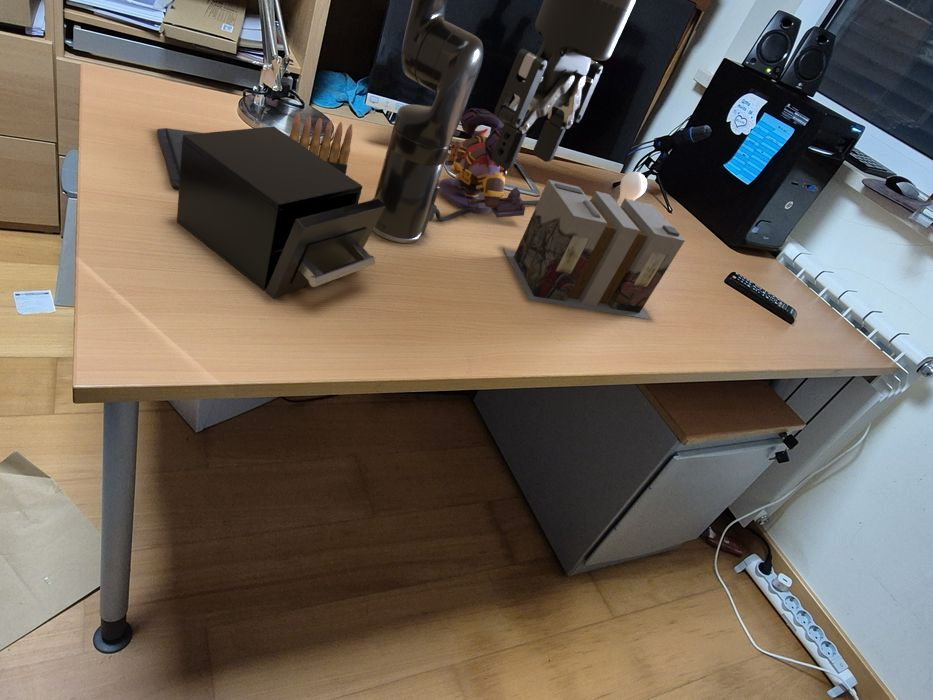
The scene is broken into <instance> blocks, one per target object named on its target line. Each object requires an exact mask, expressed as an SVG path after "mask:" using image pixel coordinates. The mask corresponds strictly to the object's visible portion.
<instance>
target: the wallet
mask: <svg viewBox="0 0 933 700" xmlns="http://www.w3.org/2000/svg"><path fill="white" fill-rule="evenodd" d="M198 133H200V132H198V131H191V130H184V129H177V128H169V127H168V128H167V127H162V128H157V129H156V134H157V139H158V141H159V145H160V148H161V151H162V154H163V158H164V160H165V164H166V169H167V171H168V176H169V180H170V184H171V185H172V187H173V189H176V190H178V191H179V182H180V167H181V152H182V141H183V140H182V139H183V135H188V134H198Z"/></svg>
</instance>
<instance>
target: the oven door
mask: <svg viewBox="0 0 933 700" xmlns="http://www.w3.org/2000/svg"><path fill="white" fill-rule="evenodd" d="M384 208H385V205H384V204H383V203H382V202H381V201H380V200H379V199H374V200H372V199H371V200H367V201H362V202H358V204H354V205H350V206H346V207H342V208H338V209H334V210H330V211H326V212H322V213H318V214H314V215H310V216H306V217H302V218H298V219H296V220H295V222H294V225H293V227H292V230H291V232H290V234H289V237H288V239H287V241H286V244H285V246H284V249H283V251H282V253H281V256H280V258H279V260H278V263H277V265H276V268H275V270H274V272H273V275H272V277H271V279H270V282H269V284H268V287H267V289H266V290H265V292H266V293H267V294H268V295H269V296H270V298H271V299H274V300H275V299H277V298H280V297H283V296H284V295H287V294H290V293H293V292H296V291H298V290H301V289H304V288H306V287H309V286H310V287H311V288H316V287H319V286H322V285H325V284H327V283H329V282H332V281H335V280H337V279H340V278H344V277H345V276H348V275H351V274H354V273H356V272H359V271H361V270H364V269H366V268H371V267H373V266H374V265H375V264H376V258H375V257H374V256H373V255H371V254H369V252H368V251H367V250H366V249H364V248H365V246H366V244H367V242H368V240H369V238H370V236H371V234H372V232H373V229H374V227H375V225H376V223H377V221H378V220H379V218H380V216H381V214H382V212H383V210H384Z"/></svg>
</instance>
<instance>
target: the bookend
mask: <svg viewBox="0 0 933 700" xmlns="http://www.w3.org/2000/svg"><path fill="white" fill-rule="evenodd" d="M538 200H539V201H538V204H536V206H535V208H534V211H533V213H532V215H531V217H530V220H529V222H528V224H527V226H526V228H525V230H524V233H523V235H522V237H521V240H520V242H519V244H518V245H517V248H516V249H515V251H514V250H510V249H503V251H504V253H505V255H506V257H507V259H508V261H509V263H510V265H511V267H512V269H513V271H514V273H515V275H516V277H517V279H518V281H519V282H520V283H519V284H520V285H521V288H522V289H523V291H524V293H525V294H526V297H527V299H528V300H529V301H534V302H539V303H546V304H551V305H558V306H559V305H560V306H565V307H571V308H577V309H585V310H591V311H597V312H601V313H602V312H603V313H610V314H616V315H621V316H628V317H634V318H641V319H647V320H650V319H649V316H648V315H647V314H646V312H645V311H644V307H645V305H646V303H647V302H648V300H649V299H650V297H651V296H652V294H653V293H654V291H655V289H656V288H657V286H658V285H659V283H660V281H661V280H662V278H663V277H664V276H665V273H666V272H667V270H668V268H669V267H670V266H671V264H672V263H673V260H674V259H675V257H676V256H677V254H678V253H679V251H680V249H681V248H682V246H683V245H684V243H685V241H686V240H685V239H684V238H683V236H681V234H680V232H679V231H678V230H677V229H676V228H675V227H674V226H672V224H671V223H670V222H669V221H668V220H667V219H666V218H665V216H663V215H662V214H661V212H660V211H659V210H658V209H657V208H656V207H655V206H654V204H650V203H647V202H646V203H645V202H642V201H638V200H630V199H626V198H625V199H624V201H623V202H622V204H621V206H619V205H618V204H617V203H618V201H616V200H615V199H614V197H612V195H611V194H609V193H606V192H601V191H597V190H595V191H594V192H593V194H592V196H591V198H589V197H588V196H587V194H585V192H584V191H583V190H582V188H581V187H580V186H577V185H574V184H573V185H572V184H569V183H564V182H560V181H557V180H552V179H547V181H546V184H545V186H544V188H543V191H542V192H541V195H540V197H539V199H538Z"/></svg>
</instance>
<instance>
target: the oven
mask: <svg viewBox="0 0 933 700" xmlns="http://www.w3.org/2000/svg"><path fill="white" fill-rule="evenodd" d="M289 136H290V135H288V134H286V133H285V132H283V131H282V130H280V129H279V128H277V127H276V126H264V127H253V128H242V129H231V130H222V131H210V132H199V133H198V134H188V135H183V139H182V140H183V141H182V152H181V167H180V182H179V190H178V196H177V197H178V198H177V210H176V211H177V213H176V223H177V224H178V225H179V226H181V227H182V228H183V229H185V230H186V231H187V232H188V233H190V234H191V235H192V236H193V237H195V238H196V239H197V240H198V241H200V242H201V243H202V244H204V245H205V246H206V247H207V248H209V250H211V251H212V252H214V253H215V254H216V255H217V256H218V257H220V258H221V259H222V260H223V261H225V262H226V263H227V264H229V265H230V266H231V267H233V269H235V270H236V271H238V272H239V273H240V274H241V275H243V276H244V277H245V278H246V279H248V280H249V281H250V282H251V283H253V284H254V285H255V286H256V287H258V288H259V289H261V290H262V291H263V292H266V289H267V287H268V284H269V282H270V279H271V277H272V275H273V272H274V270H275V268H276V265H277V263H278V260H279V258H280V256H281V253H282V251H283V249H284V246H285V244H286V241H287V239H288V237H289V234H290V232H291V230H292V227H293V225H294V222H295V220H296V219H298V218H302V217H306V216H310V215H314V214H318V213H322V212H326V211H330V210H334V209H338V208H342V207H346V206H350V205H354V204H358V203H360V202H359V201H360V198H361V194H362V191H363V185H362V184H360V183H359V182H358V181H356V180H355V179H353V178H352V177H350V176H349V175H347V173H346V174H344V173H343V172H341V171H340V170H338V169H337V168H335V167H334V166H332V165H331V164H329V163H328V162H326V161H325V160H323V159H322V158H320V157H319V156H317V155H316V154H314V153H313V152H311V151H310V150H309V148H308V149H307V148H305V147H304V146H302V145H301V144H299V142H296V141H295V140H293V139H292V138H290V137H289Z"/></svg>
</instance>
